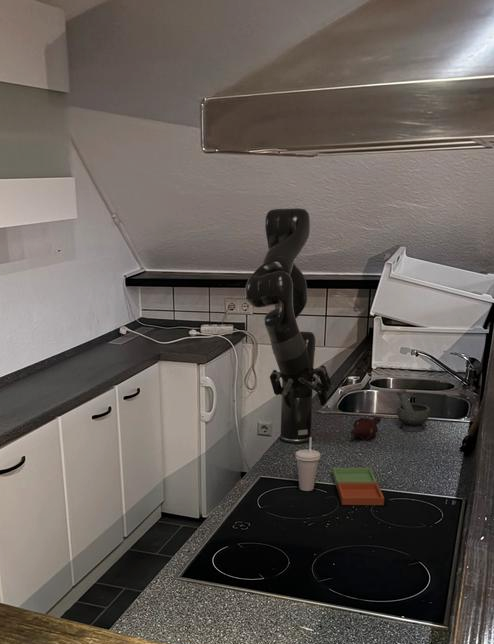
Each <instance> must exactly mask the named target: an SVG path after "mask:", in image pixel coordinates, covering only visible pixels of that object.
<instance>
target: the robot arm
mask: <svg viewBox="0 0 494 644" xmlns="http://www.w3.org/2000/svg"><path fill="white" fill-rule="evenodd" d="M310 218H311V217H310V214H309V211H308V210H306V209H304V208H299V207H297V208H274V209H270V210H268V212H267V213H266V215H265V220H264V233H265V235H264V236H265V241H266V246H267V252H266V254H265V255H264V257H263V261H262V263H261V265H260V266H259V267H258V268H257V269H256V270H255V271H254V272H253V273H252V274H251V275H250V276H249V278H248V280H247V282H246V284H245V298H246V301H247V302H248V304H250V305H251V306H252V307H254V308H258V309H260V308H265V307H269V306H274V309H272V310H270V311H269V312H267V314H266V315H265V316H264V318H263V319H264V321H263V322H264V326H265V329H266V331H267V335H268V338H269V340H270V347H271V349H272V354H273V356H274V358H275V361H276V364H277V367H278V370H279V371H277V369H272V371H271V373H270V375H269V379H270V380H269V381H270V383H271V387H272V391H273V393H274V395H275V396H279V395H281V406H280V407H281V410H280V413H281V414H280V436H279V438H280V440H281V441H283V442H286V443H289V444H290V443H291V444H302V443H303V444H304V443H308V442H309V441H310V437H312V416H313V415H312V412H313V391H315V392H316V393H317V397H318V399H319V403H320V406H322V407H323V406H326V404H327V402H328V400H329V397H328V393H327V392H329V390H330V389H331V386H332V380H331V378H330V376H329V373H328V370H327V367H326V366H325V365H322V364H321V365H320V367H317V368H315V367H314V366H315V365H314V364H315V355H316V335H315V333H313V332H312V331H300V328H299V325H298V322H297V319H298V317H300V315H301V314H302V313H303V311H304V309H305V308H306V306H307V303H308V285H307V280H306V277H305V275H304V274H303V272H302V271H301V269H300V268H299V267H298V266H297V265H296V264H295V261H296V259H297V258H298V257H299V255H300V254H301V252H302V251H303V250H304V248H305V246H306V244H307V243H308V241H309V238H310V234H311V219H310ZM281 436H282V437H281Z"/></svg>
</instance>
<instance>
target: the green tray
mask: <svg viewBox="0 0 494 644" xmlns="http://www.w3.org/2000/svg"><path fill="white" fill-rule="evenodd" d="M331 472H332V473H331V475H332V478H333V481H334V484H335V487H336V489H337V483H378V481H377V478H376V476H375V474H374V472H373V469H372V467H332V471H331Z"/></svg>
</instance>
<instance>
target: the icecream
mask: <svg viewBox="0 0 494 644" xmlns="http://www.w3.org/2000/svg"><path fill="white" fill-rule="evenodd" d="M381 420H382V418H381V417H379V416H376V417H374V418H372V419H371V418H369V417H360V418H358V419H356V420H354V423H353V428H352V429H351V430H350V434H351V435H354V436H356V437H357V438H358V439H359V440H364V441H369V440H370V439H371V438H373V437H374V436H375V435H376V433H377V432H378V426H377V425H378V424H380V423H381Z"/></svg>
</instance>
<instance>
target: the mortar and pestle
mask: <svg viewBox="0 0 494 644" xmlns="http://www.w3.org/2000/svg"><path fill="white" fill-rule="evenodd" d="M396 394H397V396H398V397H399V401H400V404H399V405H398V406H397V408H396V411H397V417H398V420H399V421H400V423H402V425H401V429H402V430H403V431H407V432H421V431H422V430H423V424H425V423H426V421H428V419H429V417H430V413H431V407H429V406H427V405H425V404H421V403H411V401H410V398H409V396H408V395H407V390H406V388H405V389H403V388H402V389H400V390H398V391H397V392H396Z"/></svg>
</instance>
